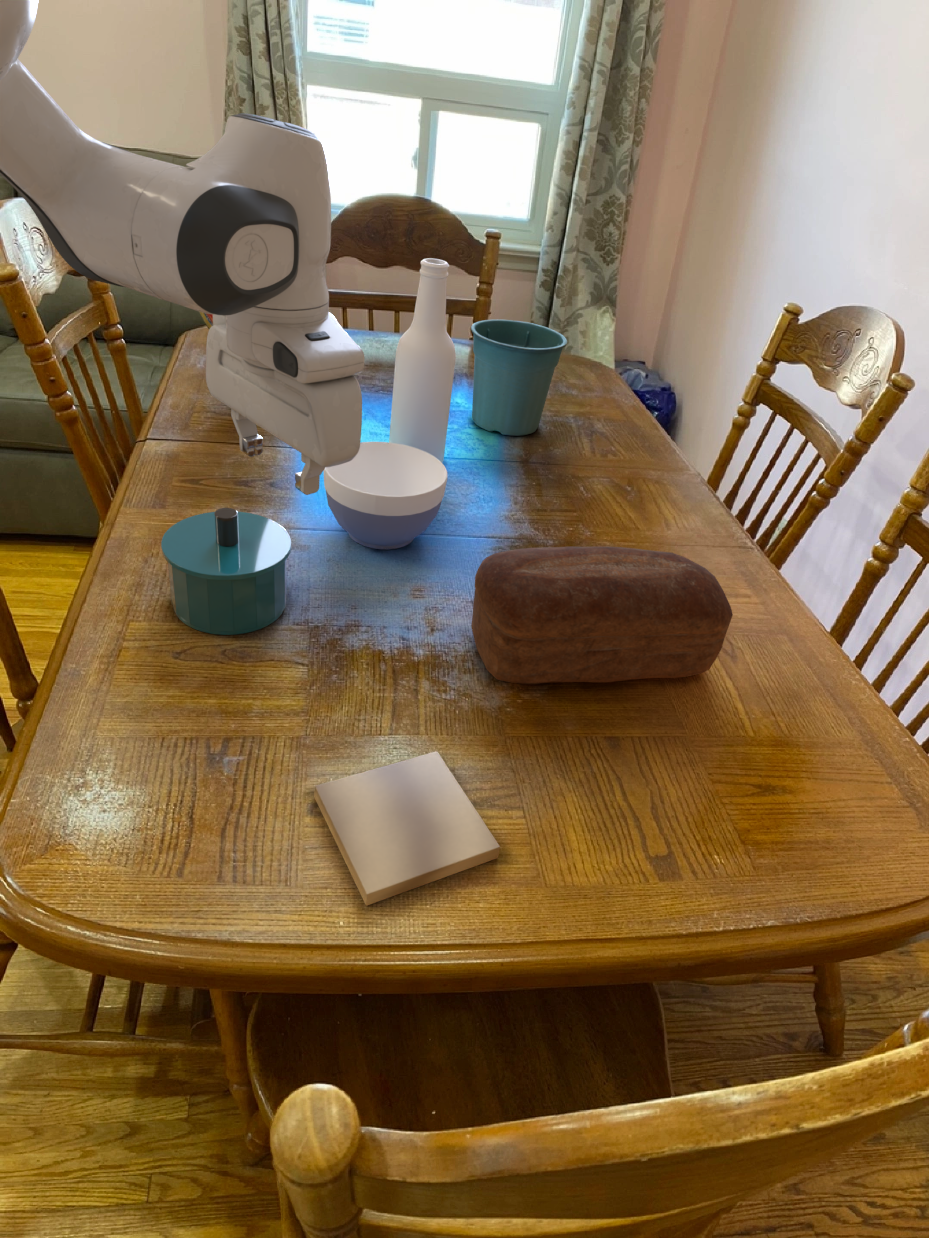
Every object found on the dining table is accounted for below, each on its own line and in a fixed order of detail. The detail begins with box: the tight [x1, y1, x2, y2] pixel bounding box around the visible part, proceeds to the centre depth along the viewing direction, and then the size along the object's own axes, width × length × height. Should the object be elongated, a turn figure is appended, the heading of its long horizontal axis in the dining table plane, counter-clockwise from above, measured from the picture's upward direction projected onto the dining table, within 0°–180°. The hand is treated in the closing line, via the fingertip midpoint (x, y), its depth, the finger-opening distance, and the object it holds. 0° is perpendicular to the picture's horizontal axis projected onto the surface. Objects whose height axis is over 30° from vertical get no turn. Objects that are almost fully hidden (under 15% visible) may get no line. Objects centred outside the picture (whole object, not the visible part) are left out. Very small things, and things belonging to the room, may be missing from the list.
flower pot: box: [470, 319, 568, 437], centre depth 143 cm, size 16×16×16 cm
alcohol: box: [388, 257, 457, 463], centre depth 122 cm, size 9×9×30 cm
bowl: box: [323, 441, 448, 550], centre depth 108 cm, size 16×16×10 cm
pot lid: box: [160, 507, 292, 580], centre depth 89 cm, size 14×14×5 cm
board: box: [313, 750, 501, 906], centre depth 70 cm, size 12×12×2 cm
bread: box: [470, 545, 734, 685], centre depth 91 cm, size 14×28×12 cm, turn 102°
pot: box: [167, 558, 288, 636], centre depth 92 cm, size 12×12×8 cm
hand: (278, 471), depth 81 cm, fingers open, 8 cm apart
